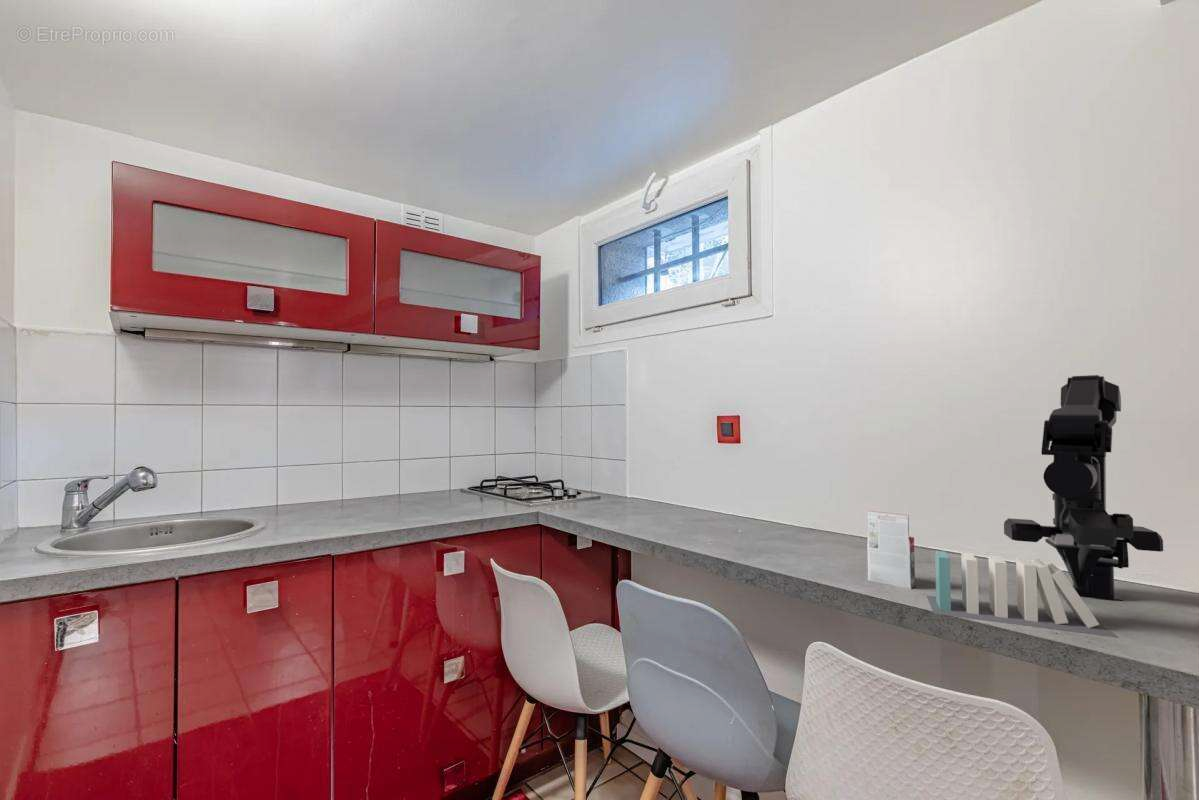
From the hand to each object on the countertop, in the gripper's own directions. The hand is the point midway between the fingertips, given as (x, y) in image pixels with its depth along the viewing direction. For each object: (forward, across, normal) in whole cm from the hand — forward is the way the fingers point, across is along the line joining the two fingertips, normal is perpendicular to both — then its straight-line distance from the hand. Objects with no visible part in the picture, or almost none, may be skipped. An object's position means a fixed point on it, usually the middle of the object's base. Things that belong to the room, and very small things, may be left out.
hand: (1079, 587), depth 88 cm
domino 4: (+6, -7, 0) cm, 9 cm away
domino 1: (+6, -19, 0) cm, 20 cm away
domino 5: (+5, -3, 0) cm, 6 cm away
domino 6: (+5, +1, 0) cm, 5 cm away
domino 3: (+6, -11, 0) cm, 12 cm away
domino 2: (+6, -15, 0) cm, 16 cm away
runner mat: (+6, -9, 0) cm, 11 cm away
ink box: (+6, -26, +11) cm, 29 cm away
